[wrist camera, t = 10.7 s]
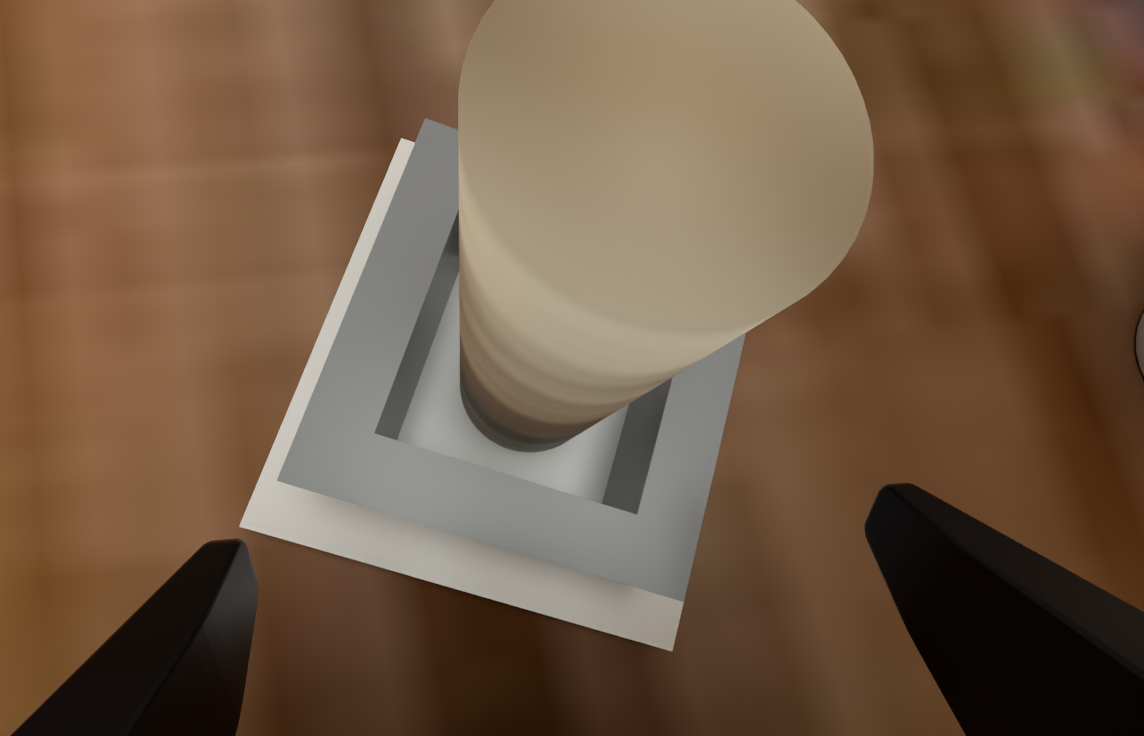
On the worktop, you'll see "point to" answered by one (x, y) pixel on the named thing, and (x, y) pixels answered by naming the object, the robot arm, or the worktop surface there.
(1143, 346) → the coffee cup
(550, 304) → the peg
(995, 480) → the worktop surface
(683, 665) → the worktop surface
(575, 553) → the socket
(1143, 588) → the worktop surface
